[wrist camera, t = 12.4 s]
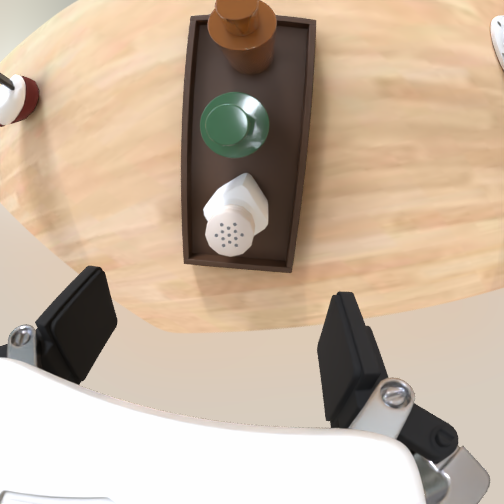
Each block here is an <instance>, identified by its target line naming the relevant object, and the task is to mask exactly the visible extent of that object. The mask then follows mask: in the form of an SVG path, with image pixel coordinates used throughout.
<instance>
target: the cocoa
mask: <svg viewBox="0 0 504 504" xmlns="http://www.w3.org/2000/svg"><path fill="white" fill-rule="evenodd" d="M0 84H2V86H0V127H2V126H5V125H8V124H12V123H15V122H19V121H21V120H24V119H26V118H27V117H28V116H29V115H30V114H31V113H32V112H33V110H34V108H35V107H36V105H37V101H38V97H39V89H38V87H37V84H36V82H35V81H33V80H32V79H29V78H27V77H24V76H19V75H14V76H13V77H12V78H11V79H9V78H7V77H6V76H4V75H3V74H1V73H0Z"/></svg>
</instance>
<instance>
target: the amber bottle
mask: <svg viewBox="0 0 504 504" xmlns="http://www.w3.org/2000/svg"><path fill="white" fill-rule="evenodd" d="M276 26H277V20H276V16H275V13H274V12H273V10H272V9H271V8H270V7H269V6H268V5H267V4H265V3H264V2H262V1H260V0H216V3H215V9H214V10H213V12H212V13H211V15H210V17H209V19H208V31H209V34H210V36H211V38H212V39H213V40H214V42H215V43H216V45H217V46H218V48H219V49H220V51H221V52H222V54H223V55H224V57H225V58H226V60H227V61H228V63H229V64H230V66H231V67H232V68H233V69H234V70H235V71H237V72H238V73H241V74H244V75H257V74H260V73H262V72H264V71H266V70H267V69H268V68H269V67H270V66H271V64H272V62H273V59H274V49H275V37H276Z"/></svg>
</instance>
